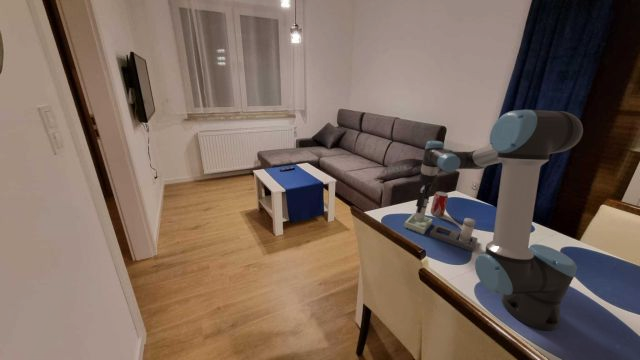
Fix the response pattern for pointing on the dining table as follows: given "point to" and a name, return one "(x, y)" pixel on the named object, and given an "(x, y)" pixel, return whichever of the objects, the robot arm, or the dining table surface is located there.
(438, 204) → the soda can
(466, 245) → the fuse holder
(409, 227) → the tray
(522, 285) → the robot arm
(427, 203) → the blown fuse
